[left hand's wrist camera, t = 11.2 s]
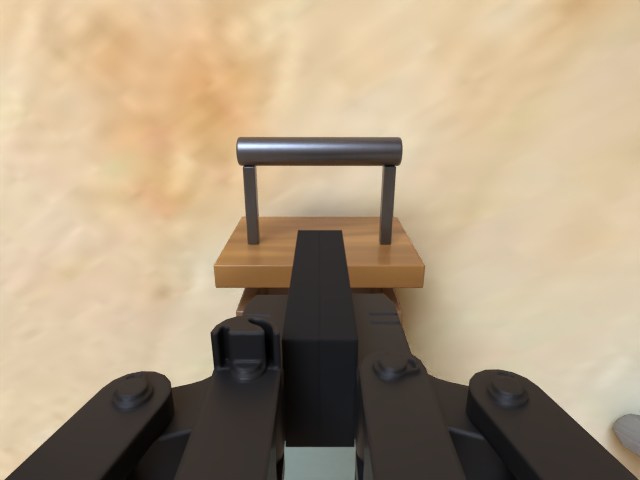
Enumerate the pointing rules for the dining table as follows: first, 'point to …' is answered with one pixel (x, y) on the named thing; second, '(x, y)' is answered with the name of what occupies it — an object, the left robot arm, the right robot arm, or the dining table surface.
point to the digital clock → (629, 432)
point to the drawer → (318, 222)
